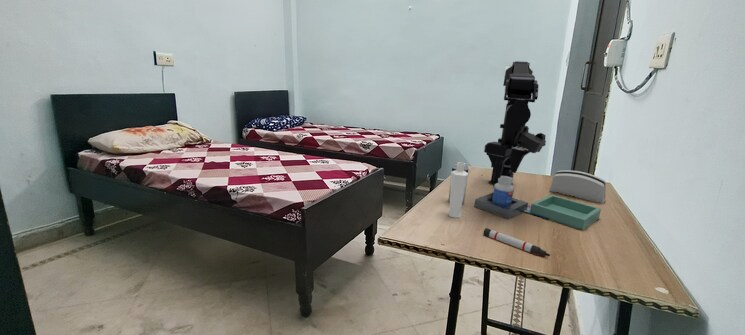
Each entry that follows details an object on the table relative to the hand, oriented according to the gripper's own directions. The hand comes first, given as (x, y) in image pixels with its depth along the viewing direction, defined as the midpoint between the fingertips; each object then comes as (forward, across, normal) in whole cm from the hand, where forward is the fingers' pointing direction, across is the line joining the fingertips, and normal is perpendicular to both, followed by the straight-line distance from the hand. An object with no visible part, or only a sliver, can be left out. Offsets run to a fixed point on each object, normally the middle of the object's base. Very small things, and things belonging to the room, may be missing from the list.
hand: (506, 175), depth 100 cm
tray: (+10, +11, -14) cm, 21 cm away
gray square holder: (+10, 0, 0) cm, 11 cm away
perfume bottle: (+11, -16, +5) cm, 20 cm away
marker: (+11, -19, -14) cm, 26 cm away
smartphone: (+11, +7, -5) cm, 14 cm away
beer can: (+11, -7, +11) cm, 17 cm away
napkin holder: (+11, +34, -10) cm, 37 cm away
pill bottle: (+11, 0, 0) cm, 11 cm away
